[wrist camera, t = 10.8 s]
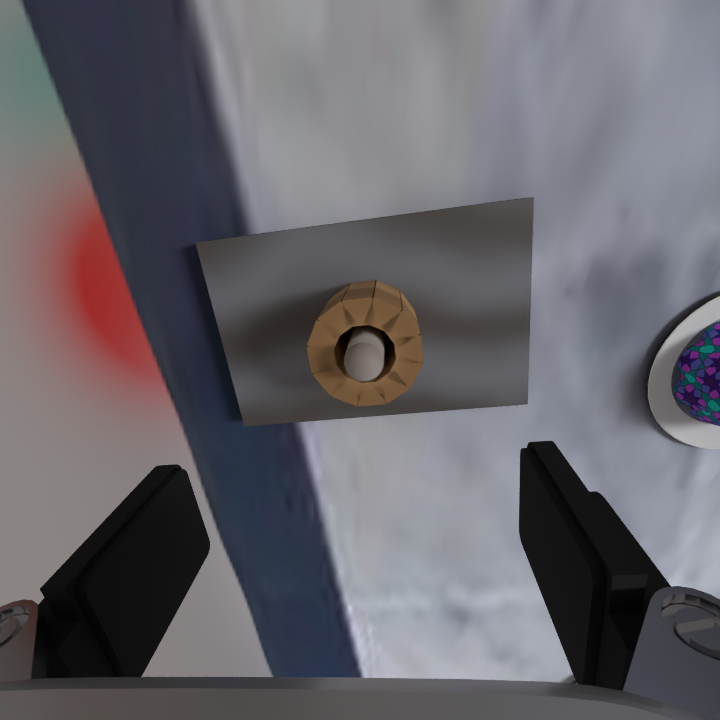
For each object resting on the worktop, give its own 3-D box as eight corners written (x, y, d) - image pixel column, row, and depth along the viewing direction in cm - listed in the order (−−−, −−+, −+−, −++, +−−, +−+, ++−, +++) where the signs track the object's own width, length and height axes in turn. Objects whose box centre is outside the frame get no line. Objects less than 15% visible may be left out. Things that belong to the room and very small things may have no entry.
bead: (419, 365, 26) (426, 400, 21) (331, 374, 26) (318, 410, 22) (411, 275, 24) (417, 291, 19) (315, 287, 24) (298, 305, 20)
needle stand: (520, 394, 28) (573, 468, 20) (251, 416, 30) (201, 490, 22) (524, 198, 23) (596, 192, 15) (206, 240, 25) (122, 255, 17)
